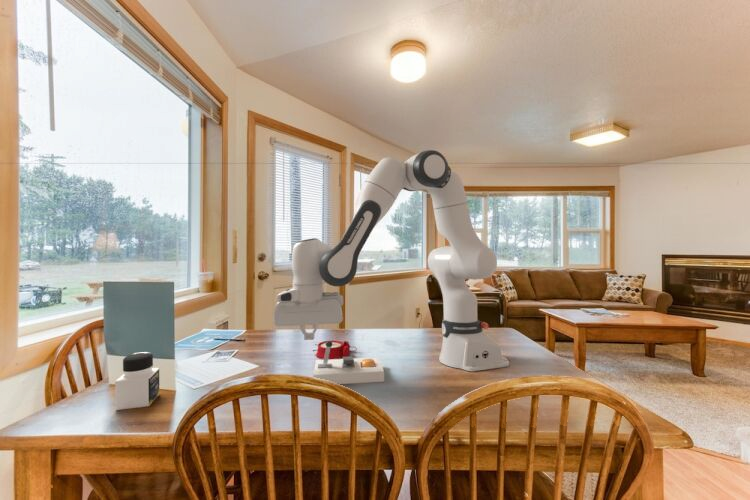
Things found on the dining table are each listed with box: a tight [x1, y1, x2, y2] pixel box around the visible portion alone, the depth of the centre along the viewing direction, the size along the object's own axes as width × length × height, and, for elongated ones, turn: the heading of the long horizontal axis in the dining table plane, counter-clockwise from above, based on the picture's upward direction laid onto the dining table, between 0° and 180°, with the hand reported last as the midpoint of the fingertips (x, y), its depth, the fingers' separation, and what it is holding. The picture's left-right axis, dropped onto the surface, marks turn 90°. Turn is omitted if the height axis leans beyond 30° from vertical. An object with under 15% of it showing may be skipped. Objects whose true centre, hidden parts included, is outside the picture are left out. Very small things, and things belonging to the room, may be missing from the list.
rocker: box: [342, 355, 354, 364], centre depth 97 cm, size 3×7×1 cm, turn 7°
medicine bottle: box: [114, 351, 160, 411], centre depth 81 cm, size 7×7×12 cm
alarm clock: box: [312, 340, 358, 360], centre depth 116 cm, size 10×6×15 cm
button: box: [362, 359, 374, 368], centre depth 98 cm, size 4×4×4 cm
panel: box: [312, 356, 385, 385], centre depth 97 cm, size 20×12×3 cm, turn 97°
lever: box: [323, 340, 332, 364], centre depth 96 cm, size 2×2×7 cm
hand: (309, 339), depth 96 cm, fingers closed
